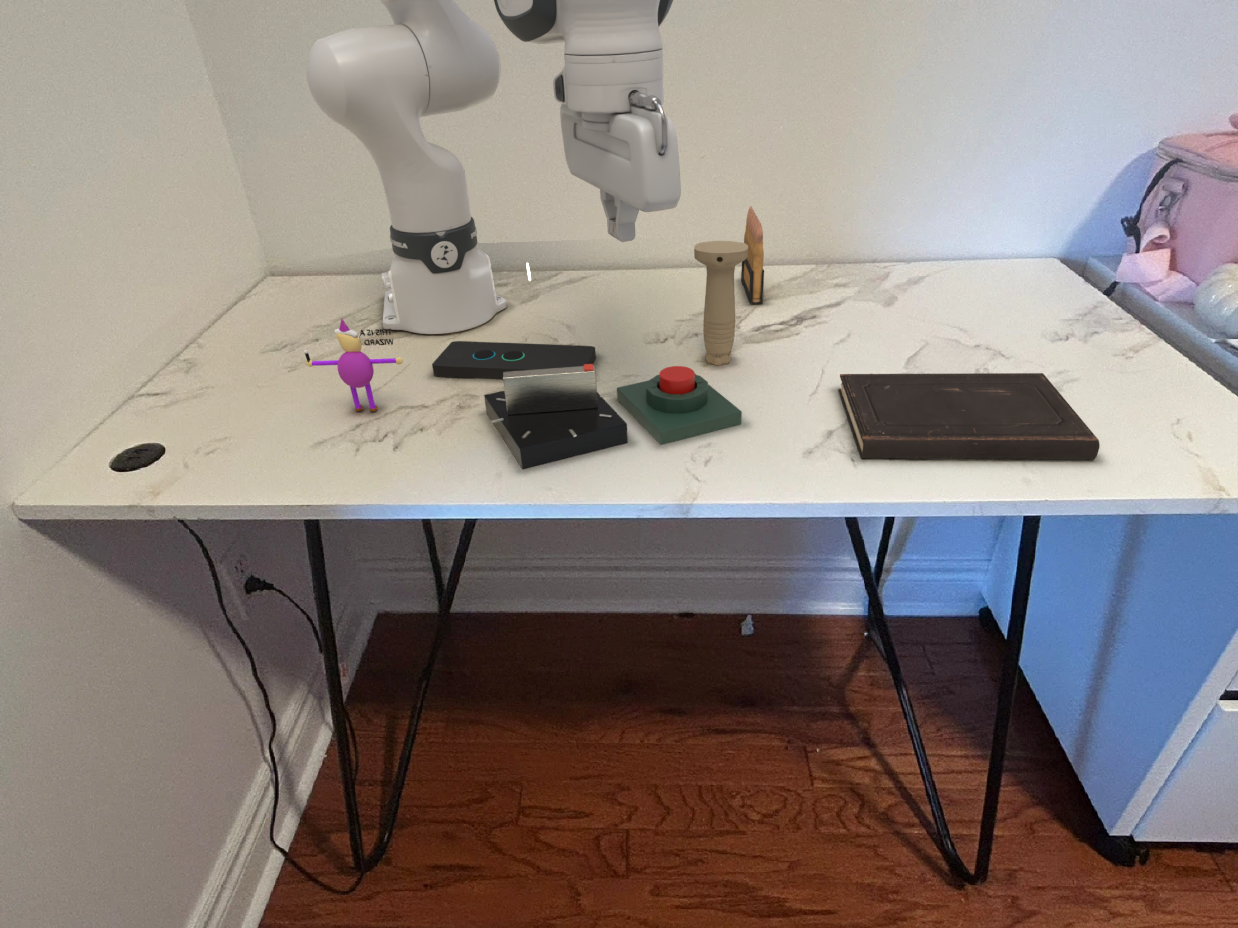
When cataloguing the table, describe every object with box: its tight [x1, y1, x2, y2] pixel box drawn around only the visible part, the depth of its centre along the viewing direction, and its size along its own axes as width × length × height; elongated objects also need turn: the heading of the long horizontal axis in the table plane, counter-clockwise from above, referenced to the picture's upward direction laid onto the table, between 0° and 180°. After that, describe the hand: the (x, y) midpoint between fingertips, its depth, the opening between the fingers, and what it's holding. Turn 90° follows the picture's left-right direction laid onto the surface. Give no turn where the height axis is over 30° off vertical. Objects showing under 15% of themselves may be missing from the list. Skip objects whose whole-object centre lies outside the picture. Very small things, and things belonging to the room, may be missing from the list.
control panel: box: [483, 390, 628, 470], centre depth 93 cm, size 14×14×3 cm
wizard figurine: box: [303, 317, 404, 413], centre depth 95 cm, size 11×3×12 cm, turn 89°
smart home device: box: [431, 340, 597, 381], centre depth 107 cm, size 8×2×20 cm
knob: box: [502, 363, 598, 415], centre depth 91 cm, size 10×2×5 cm, turn 95°
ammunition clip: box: [740, 206, 765, 305], centre depth 125 cm, size 11×2×12 cm, turn 0°
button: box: [658, 365, 696, 394], centre depth 93 cm, size 4×4×2 cm
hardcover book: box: [837, 372, 1101, 460], centre depth 90 cm, size 16×23×2 cm
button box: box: [616, 373, 743, 446], centre depth 94 cm, size 12×10×4 cm
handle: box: [693, 240, 748, 367], centre depth 103 cm, size 5×6×15 cm
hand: (621, 237), depth 82 cm, fingers closed
